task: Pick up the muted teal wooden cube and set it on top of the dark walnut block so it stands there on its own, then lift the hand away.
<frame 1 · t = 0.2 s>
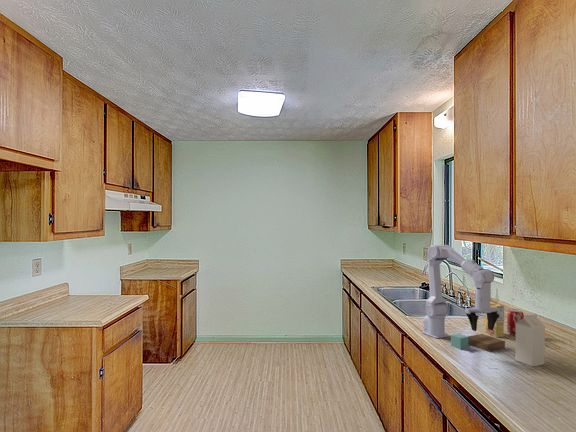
hand: (482, 330, 159), 10 cm above the table, tool pointing down, fingers open, 7 cm apart
teal cube: (459, 347, 166), on the table
candy box: (494, 334, 185), on the table
milk carton: (529, 363, 149), on the table
soda can: (515, 334, 185), on the table
walnut block: (485, 346, 168), on the table
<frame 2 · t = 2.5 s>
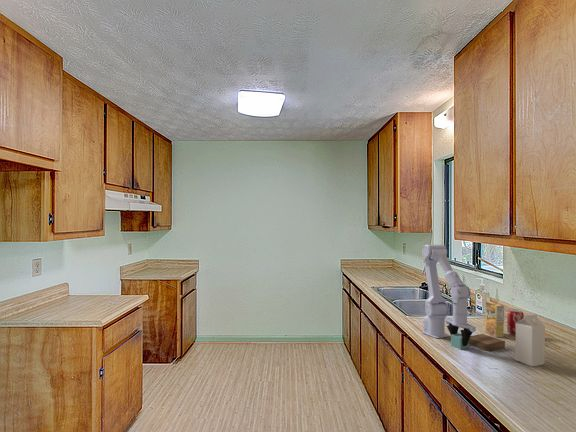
hand: (459, 343, 166), 1 cm above the table, tool pointing down, fingers closed on teal cube, 5 cm apart
teal cube: (459, 346, 166), on the table, touching gripper
everything else where it was.
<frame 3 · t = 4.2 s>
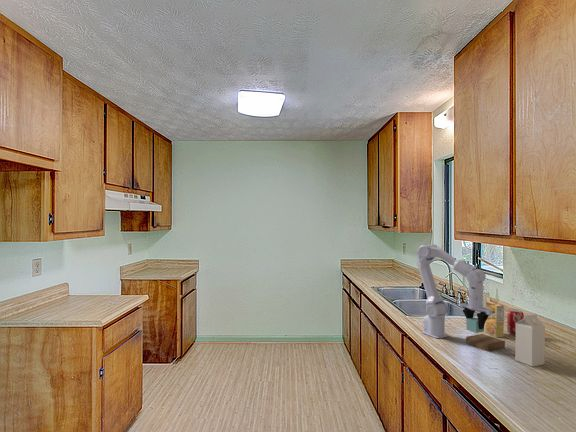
hand: (475, 327, 167), 8 cm above the table, tool pointing down, fingers closed on teal cube, 5 cm apart
teal cube: (475, 330, 167), point 7 cm above the table, touching gripper
everything else where it was.
when the fingers open (6 cm above the table, at t = 6.0 s): teal cube drops 1 cm, resting on walnut block.
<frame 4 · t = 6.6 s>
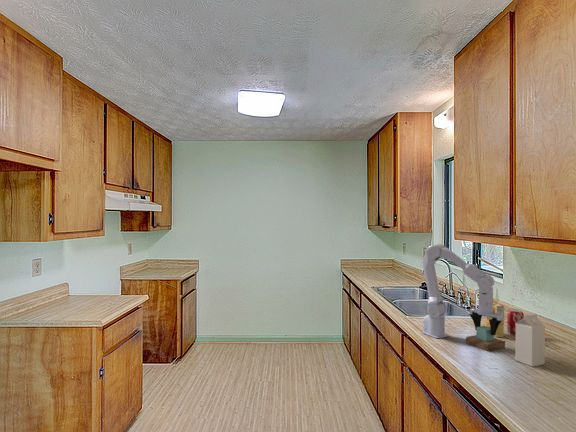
hand: (485, 332, 168), 6 cm above the table, tool pointing down, fingers open, 7 cm apart
teal cube: (485, 339, 168), point 3 cm above the table, touching walnut block
walnut block: (485, 346, 168), on the table, touching teal cube
everything else where it was.
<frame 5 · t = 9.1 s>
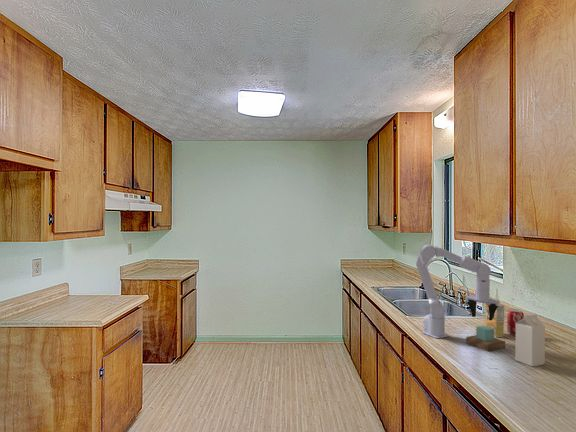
hand: (482, 318, 175), 10 cm above the table, tool pointing down, fingers open, 7 cm apart
nothing on the table moved.
at the end: teal cube inside the target area on the walnut block (0.2 cm from its centre), point 3.5 cm above the walnut block's base; teal cube tilted 0°; the gripper is holding nothing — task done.
